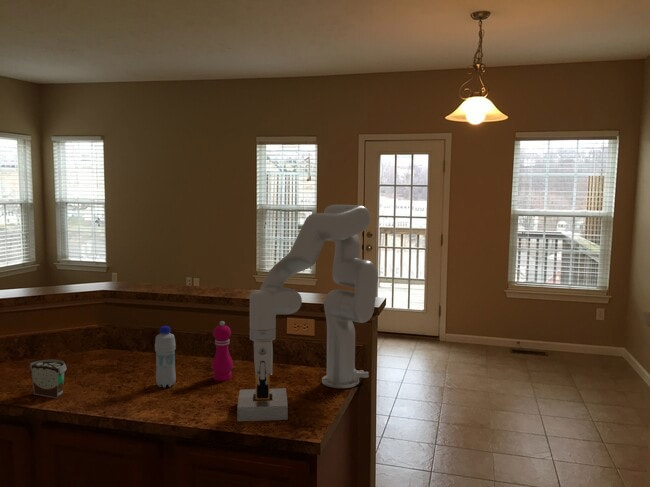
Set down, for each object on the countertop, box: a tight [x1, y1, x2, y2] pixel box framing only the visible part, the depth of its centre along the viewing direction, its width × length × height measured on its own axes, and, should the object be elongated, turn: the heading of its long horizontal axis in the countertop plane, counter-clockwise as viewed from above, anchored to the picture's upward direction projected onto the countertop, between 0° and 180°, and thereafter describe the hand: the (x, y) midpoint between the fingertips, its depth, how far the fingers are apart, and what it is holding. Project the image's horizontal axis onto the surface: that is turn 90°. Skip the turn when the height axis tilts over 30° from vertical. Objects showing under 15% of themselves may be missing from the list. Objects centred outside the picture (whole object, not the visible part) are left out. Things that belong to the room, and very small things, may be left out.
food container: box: [29, 359, 67, 399], centre depth 172 cm, size 12×6×10 cm, turn 71°
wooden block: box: [255, 372, 271, 401], centre depth 159 cm, size 4×4×9 cm
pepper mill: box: [211, 320, 234, 382], centre depth 187 cm, size 7×7×20 cm
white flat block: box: [236, 387, 289, 422], centre depth 159 cm, size 14×14×4 cm
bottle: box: [154, 325, 177, 389], centre depth 179 cm, size 7×7×20 cm
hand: (262, 394), depth 159 cm, fingers closed on wooden block, 3 cm apart
